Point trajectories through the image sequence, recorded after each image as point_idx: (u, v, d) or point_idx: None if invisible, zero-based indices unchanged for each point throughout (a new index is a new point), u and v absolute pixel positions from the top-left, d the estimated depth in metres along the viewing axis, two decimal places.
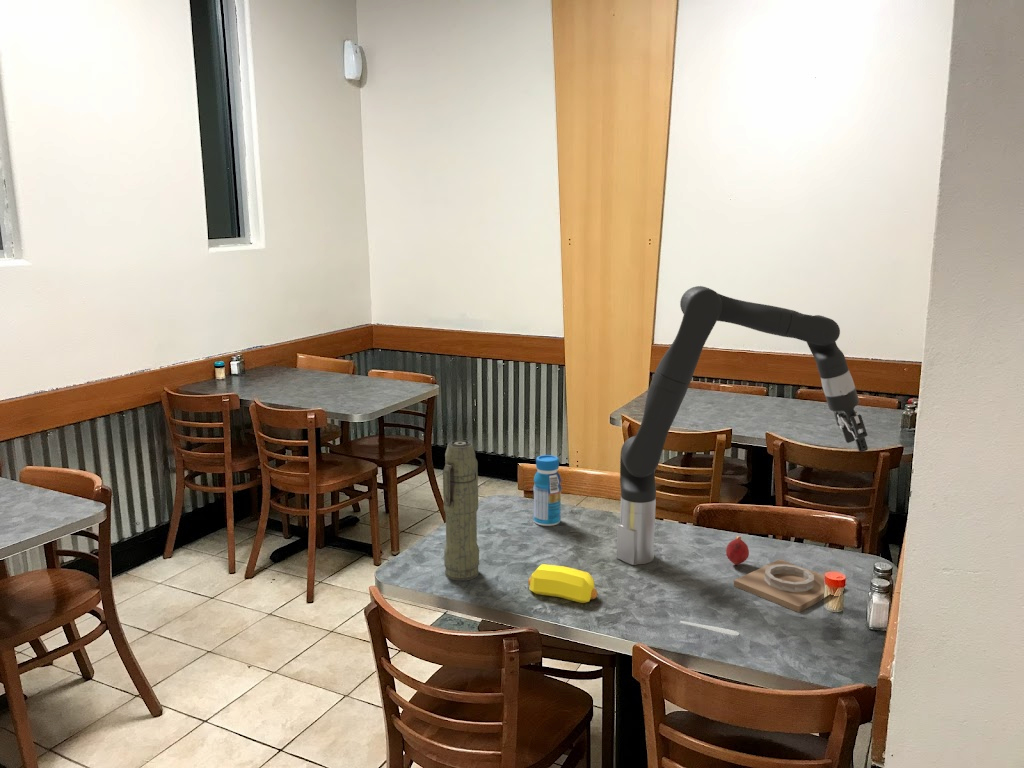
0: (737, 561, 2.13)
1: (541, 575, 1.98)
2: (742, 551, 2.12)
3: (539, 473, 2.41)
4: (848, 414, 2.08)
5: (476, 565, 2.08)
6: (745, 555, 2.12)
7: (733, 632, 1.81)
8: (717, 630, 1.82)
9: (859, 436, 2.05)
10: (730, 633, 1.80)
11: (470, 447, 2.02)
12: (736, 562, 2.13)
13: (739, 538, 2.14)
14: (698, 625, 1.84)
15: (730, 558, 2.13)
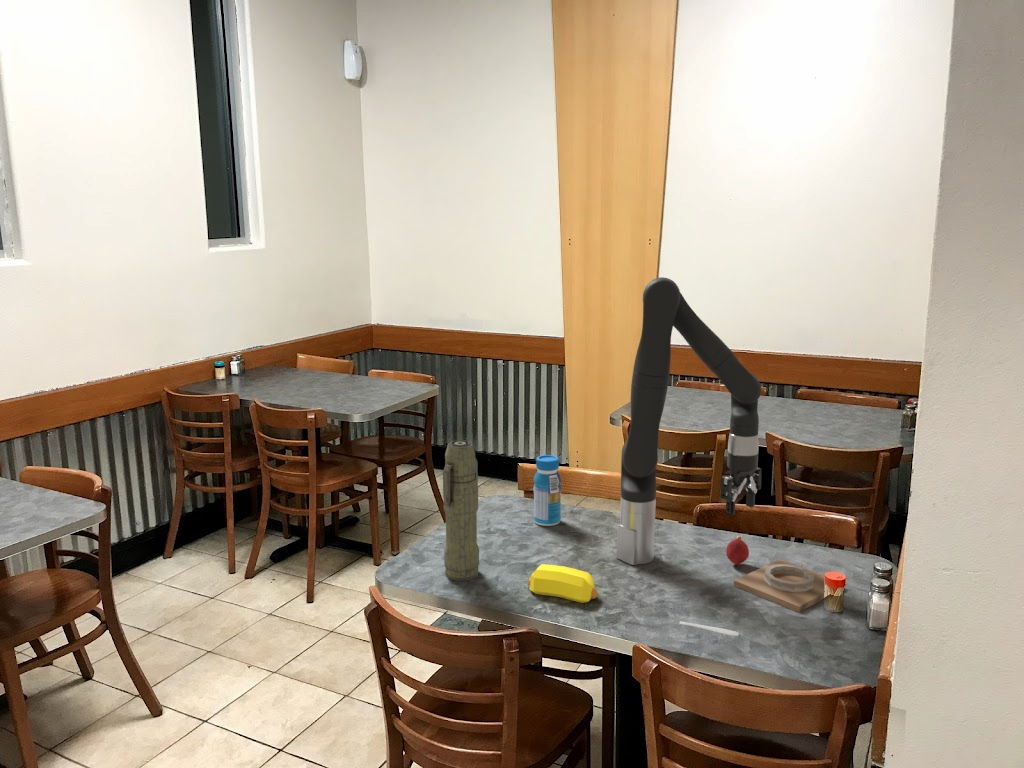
0: (737, 561, 2.13)
1: (541, 575, 1.98)
2: (742, 551, 2.12)
3: (539, 473, 2.41)
4: (730, 474, 2.09)
5: (476, 565, 2.08)
6: (745, 555, 2.12)
7: (733, 632, 1.80)
8: (717, 630, 1.81)
9: (722, 496, 2.08)
10: (730, 633, 1.80)
11: (470, 447, 2.02)
12: (736, 562, 2.13)
13: (739, 538, 2.14)
14: (698, 625, 1.84)
15: (730, 558, 2.13)
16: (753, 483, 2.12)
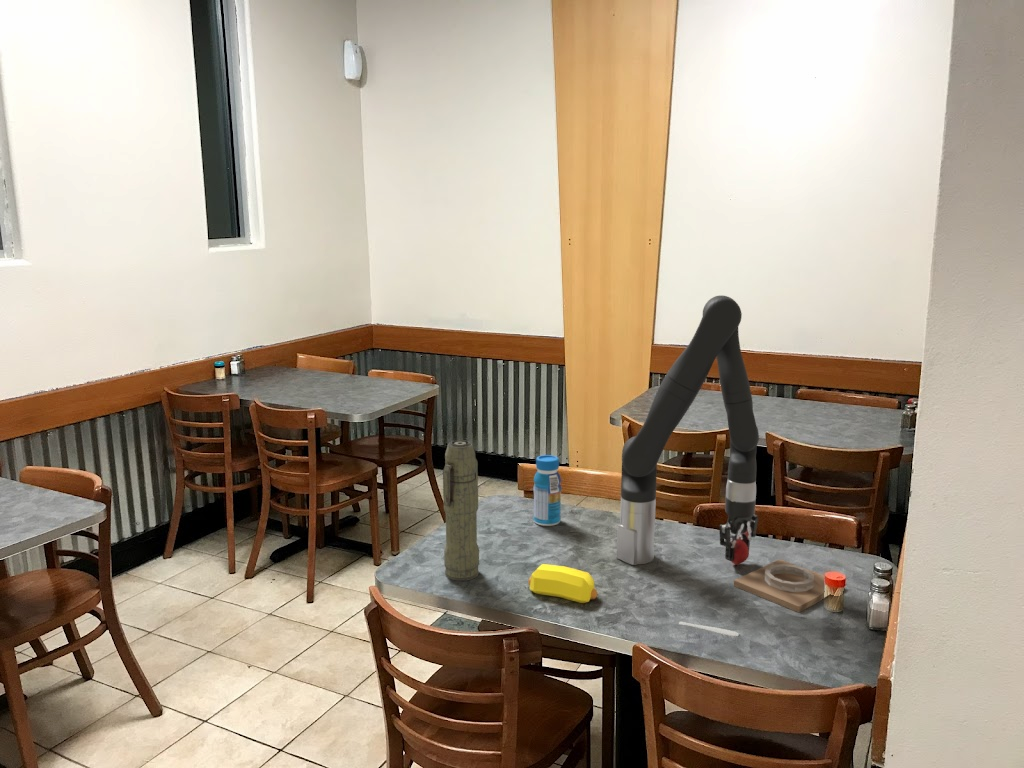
0: (737, 560, 2.13)
1: (541, 575, 1.98)
2: (742, 551, 2.12)
3: (539, 473, 2.41)
4: (727, 520, 2.11)
5: (476, 565, 2.08)
6: (745, 555, 2.12)
7: (732, 633, 1.80)
8: (717, 631, 1.81)
9: (721, 543, 2.11)
10: (730, 634, 1.80)
11: (470, 447, 2.02)
12: (736, 562, 2.13)
13: (739, 538, 2.14)
14: (698, 626, 1.83)
15: None
16: (749, 529, 2.14)
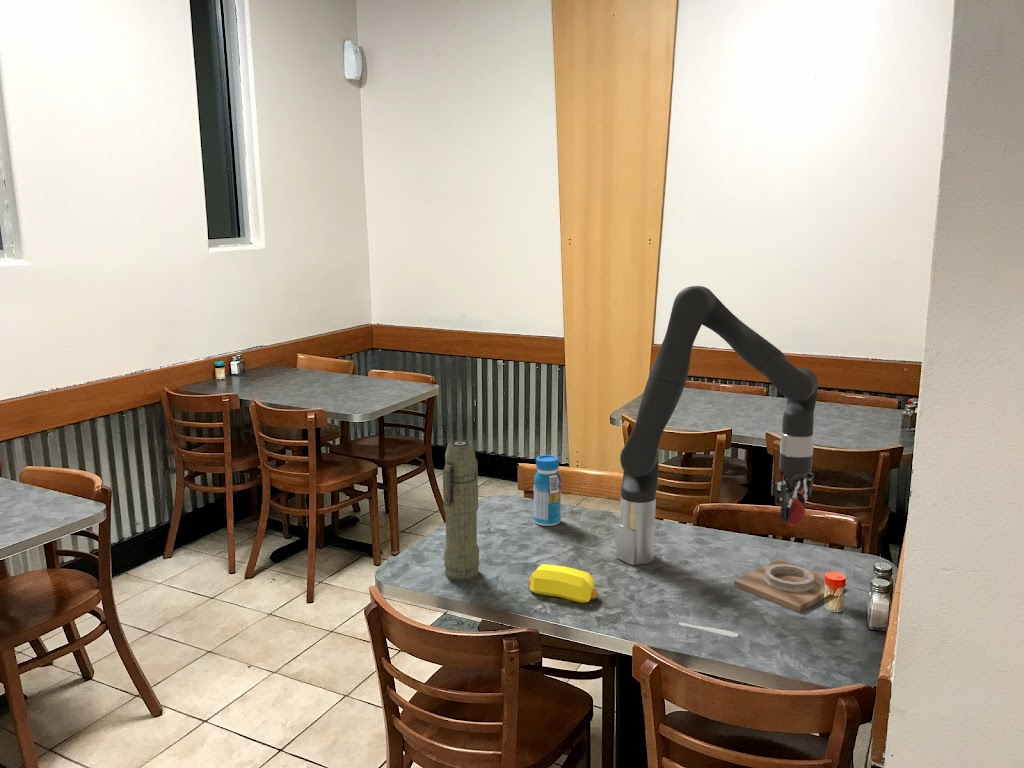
0: (793, 521, 1.98)
1: (541, 575, 1.98)
2: (799, 510, 1.97)
3: (539, 473, 2.41)
4: None
5: (476, 565, 2.08)
6: (802, 515, 1.97)
7: (732, 634, 1.80)
8: (716, 631, 1.81)
9: (776, 502, 1.96)
10: (729, 634, 1.80)
11: (470, 447, 2.02)
12: (792, 523, 1.98)
13: (795, 497, 1.99)
14: (697, 627, 1.83)
15: None
16: (805, 488, 1.99)
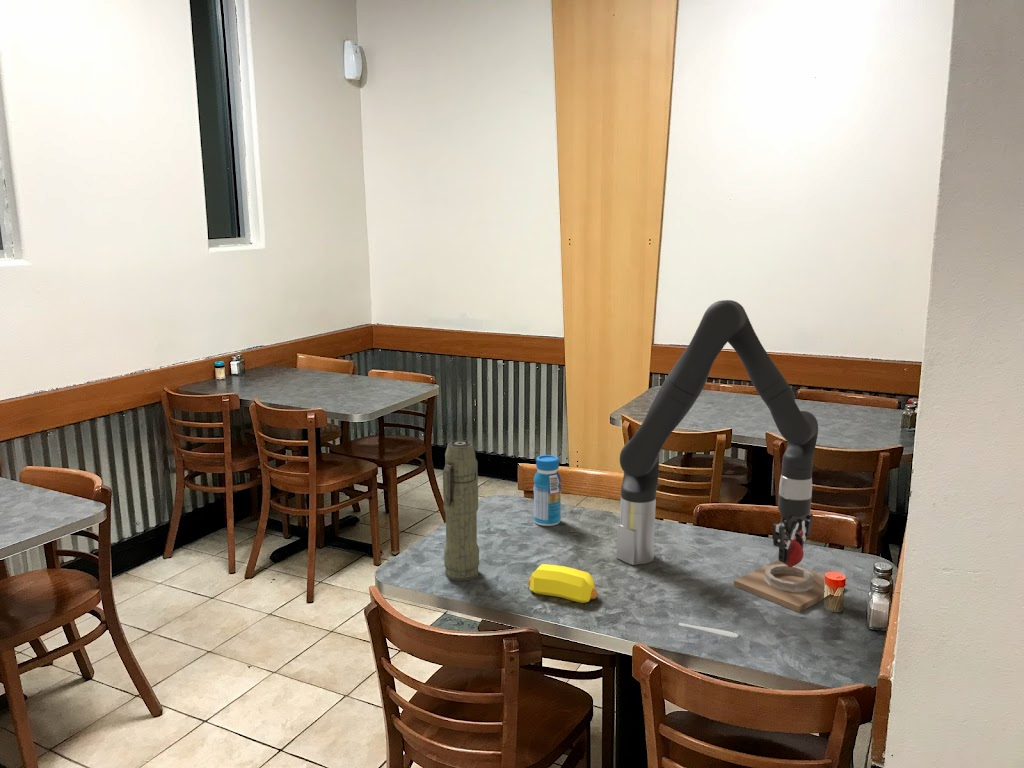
0: (791, 562, 1.99)
1: (541, 575, 1.98)
2: (797, 552, 1.98)
3: (539, 473, 2.41)
4: (781, 519, 1.97)
5: (476, 565, 2.08)
6: (800, 557, 1.99)
7: (732, 634, 1.80)
8: (716, 632, 1.81)
9: (775, 543, 1.97)
10: (729, 635, 1.79)
11: (470, 447, 2.02)
12: (790, 564, 2.00)
13: None
14: (697, 627, 1.83)
15: None
16: (804, 529, 2.00)
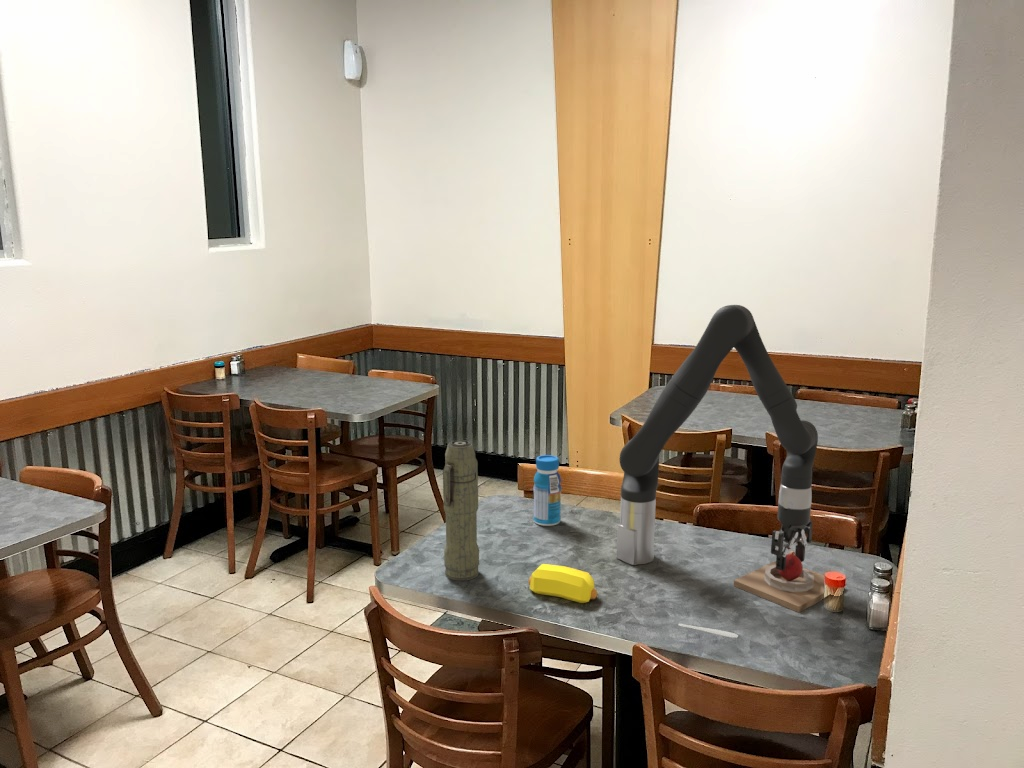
0: (790, 577, 2.00)
1: (541, 575, 1.98)
2: (796, 567, 1.99)
3: (539, 473, 2.41)
4: (781, 527, 1.98)
5: (476, 565, 2.08)
6: (799, 572, 1.99)
7: (732, 634, 1.79)
8: (716, 632, 1.81)
9: (772, 551, 1.97)
10: (729, 635, 1.79)
11: (470, 447, 2.02)
12: (789, 579, 2.00)
13: (793, 553, 2.00)
14: (697, 628, 1.83)
15: (782, 574, 2.00)
16: (804, 537, 2.01)
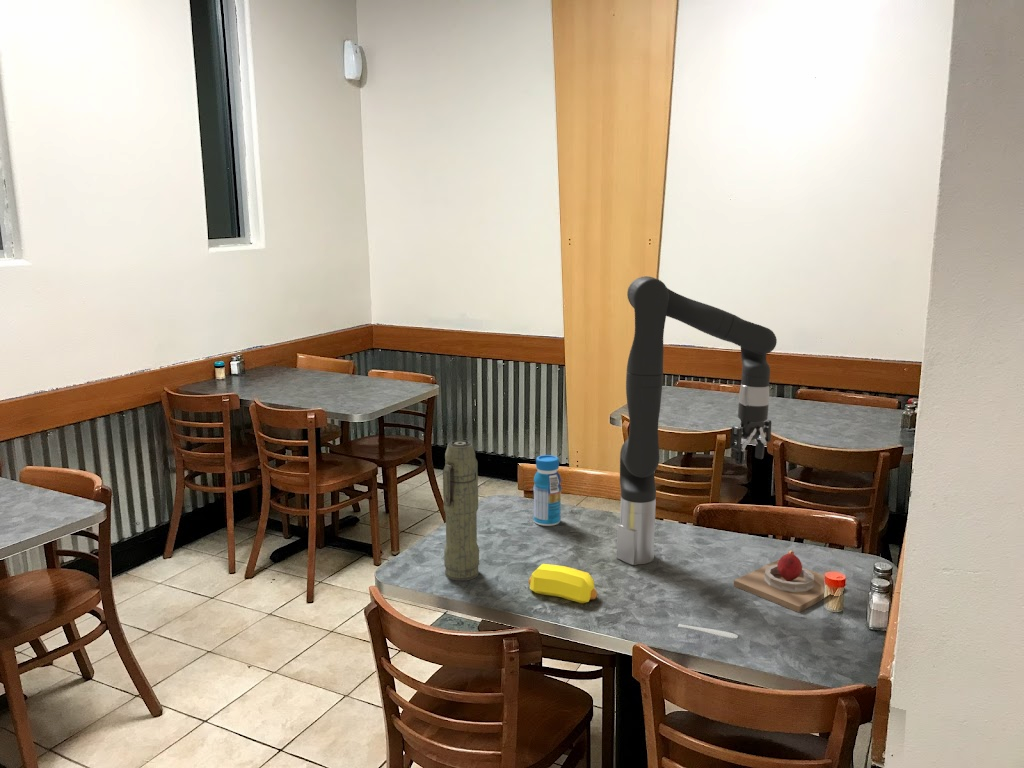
0: (789, 577, 2.00)
1: (541, 575, 1.98)
2: (795, 566, 1.99)
3: (539, 473, 2.41)
4: (740, 424, 2.13)
5: (476, 565, 2.08)
6: (798, 571, 1.99)
7: (731, 635, 1.79)
8: (716, 633, 1.80)
9: (731, 445, 2.12)
10: (729, 636, 1.79)
11: (470, 447, 2.02)
12: (788, 578, 2.00)
13: (792, 553, 2.01)
14: (696, 628, 1.82)
15: (782, 574, 2.01)
16: (763, 434, 2.15)
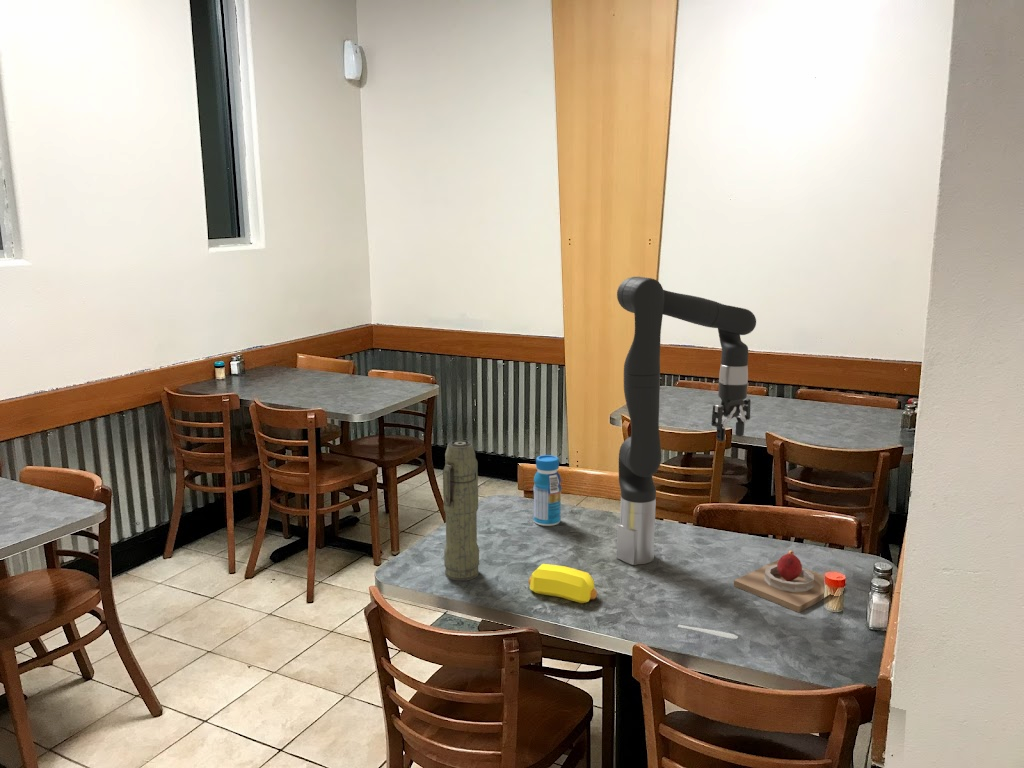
0: (789, 577, 2.00)
1: (541, 575, 1.98)
2: (795, 566, 1.99)
3: (539, 473, 2.41)
4: (721, 403, 2.21)
5: (476, 565, 2.08)
6: (798, 571, 1.99)
7: (731, 636, 1.79)
8: (715, 633, 1.80)
9: (712, 423, 2.20)
10: (729, 636, 1.79)
11: (470, 447, 2.02)
12: (788, 578, 2.00)
13: (791, 553, 2.01)
14: (696, 629, 1.82)
15: (782, 574, 2.01)
16: (742, 412, 2.24)
